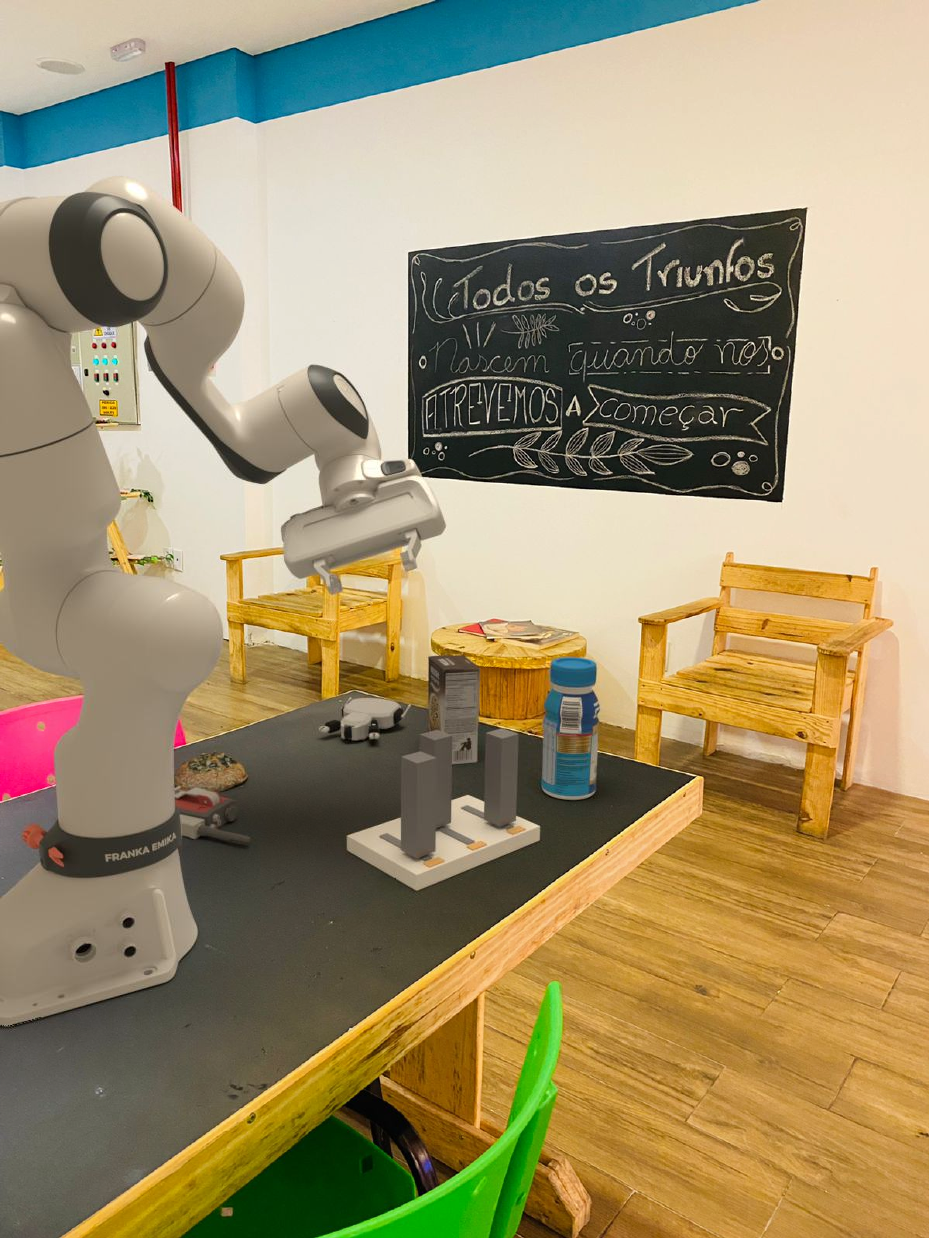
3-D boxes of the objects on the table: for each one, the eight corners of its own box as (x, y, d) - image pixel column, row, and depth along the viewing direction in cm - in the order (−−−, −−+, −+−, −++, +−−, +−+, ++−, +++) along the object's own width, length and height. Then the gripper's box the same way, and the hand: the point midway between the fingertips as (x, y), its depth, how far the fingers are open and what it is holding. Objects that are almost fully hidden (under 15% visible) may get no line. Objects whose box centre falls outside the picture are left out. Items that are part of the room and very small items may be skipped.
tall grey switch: (416, 858, 110) (417, 763, 108) (400, 850, 112) (401, 756, 110) (435, 851, 112) (436, 757, 110) (419, 843, 114) (420, 751, 112)
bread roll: (197, 764, 147) (199, 735, 146) (259, 781, 144) (262, 751, 143) (156, 792, 137) (157, 761, 135) (222, 811, 134) (225, 779, 133)
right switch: (499, 826, 119) (502, 738, 117) (483, 819, 122) (485, 732, 119) (516, 820, 121) (518, 733, 119) (500, 813, 124) (502, 728, 121)
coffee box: (426, 747, 156) (427, 655, 153) (462, 744, 158) (464, 653, 155) (441, 766, 148) (442, 668, 145) (479, 762, 150) (481, 666, 147)
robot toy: (379, 754, 156) (412, 722, 169) (378, 729, 154) (412, 699, 168) (314, 745, 160) (352, 715, 173) (313, 721, 158) (351, 692, 172)
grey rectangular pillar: (433, 829, 118) (434, 740, 116) (418, 821, 121) (419, 734, 118) (451, 822, 120) (452, 735, 118) (436, 815, 123) (437, 729, 120)
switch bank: (416, 890, 108) (416, 873, 107) (346, 850, 118) (346, 834, 117) (539, 840, 121) (540, 824, 121) (467, 807, 132) (468, 793, 131)
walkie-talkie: (123, 825, 125) (244, 853, 117) (121, 794, 124) (243, 821, 116) (167, 802, 133) (284, 827, 125) (166, 773, 132) (283, 797, 124)
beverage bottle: (528, 789, 139) (532, 660, 135) (566, 776, 144) (571, 652, 140) (570, 806, 133) (576, 672, 129) (608, 792, 138) (614, 663, 134)
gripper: (269, 505, 115) (280, 590, 108) (424, 455, 114) (446, 537, 106) (288, 535, 121) (299, 619, 113) (437, 488, 119) (459, 569, 111)
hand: (372, 579), depth 109 cm, fingers open, 8 cm apart
